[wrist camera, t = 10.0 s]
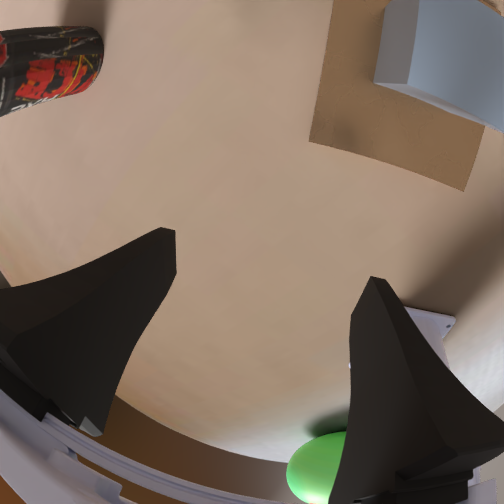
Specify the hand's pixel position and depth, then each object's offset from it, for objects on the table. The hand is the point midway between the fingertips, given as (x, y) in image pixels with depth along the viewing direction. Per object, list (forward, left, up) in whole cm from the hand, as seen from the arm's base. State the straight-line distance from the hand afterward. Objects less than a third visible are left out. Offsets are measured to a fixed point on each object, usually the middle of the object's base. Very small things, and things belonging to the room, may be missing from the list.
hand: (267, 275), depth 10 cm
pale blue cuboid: (+10, -6, -9) cm, 15 cm away
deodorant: (+8, +18, -10) cm, 22 cm away
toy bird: (-39, -19, -10) cm, 45 cm away
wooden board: (+10, -6, -10) cm, 15 cm away
